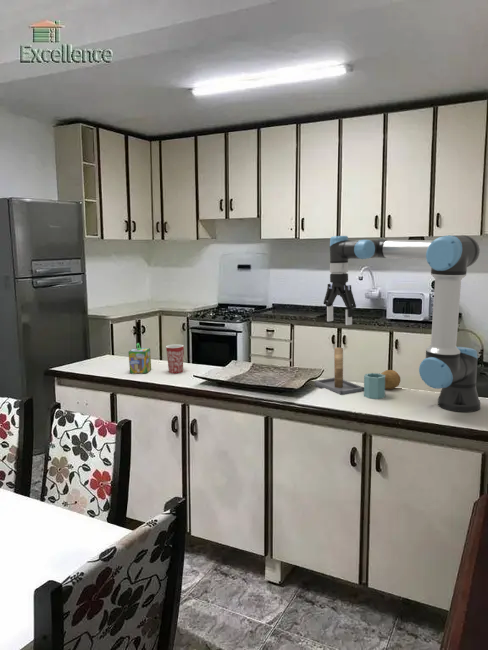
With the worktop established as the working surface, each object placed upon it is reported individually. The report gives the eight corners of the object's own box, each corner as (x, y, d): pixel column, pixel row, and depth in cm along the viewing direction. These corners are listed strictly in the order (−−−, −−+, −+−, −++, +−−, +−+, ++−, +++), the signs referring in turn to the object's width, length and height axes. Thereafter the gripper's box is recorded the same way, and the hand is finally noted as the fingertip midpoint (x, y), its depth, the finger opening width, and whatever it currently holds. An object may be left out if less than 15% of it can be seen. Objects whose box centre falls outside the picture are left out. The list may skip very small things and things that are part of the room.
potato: (402, 385, 232) (402, 368, 231) (398, 394, 219) (398, 375, 218) (379, 383, 236) (380, 366, 235) (374, 392, 223) (374, 373, 222)
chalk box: (146, 373, 266) (145, 345, 263) (129, 373, 267) (127, 345, 264) (152, 369, 275) (150, 341, 272) (135, 369, 276) (133, 341, 274)
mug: (179, 374, 262) (177, 348, 260) (163, 373, 266) (162, 347, 264) (191, 368, 273) (190, 343, 271) (176, 367, 277) (175, 342, 275)
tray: (364, 393, 222) (364, 387, 222) (340, 397, 217) (340, 391, 217) (336, 382, 240) (336, 377, 240) (314, 385, 235) (314, 380, 235)
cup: (389, 399, 213) (389, 376, 211) (372, 402, 209) (373, 379, 208) (376, 394, 220) (376, 372, 218) (360, 397, 217) (360, 374, 215)
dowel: (344, 387, 228) (344, 348, 225) (337, 388, 226) (337, 349, 223) (339, 385, 231) (339, 347, 228) (332, 386, 229) (332, 348, 227)
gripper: (364, 273, 211) (364, 325, 214) (329, 271, 234) (330, 318, 237) (349, 274, 208) (349, 327, 211) (315, 272, 231) (315, 320, 234)
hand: (339, 323), depth 224 cm, fingers open, 13 cm apart
